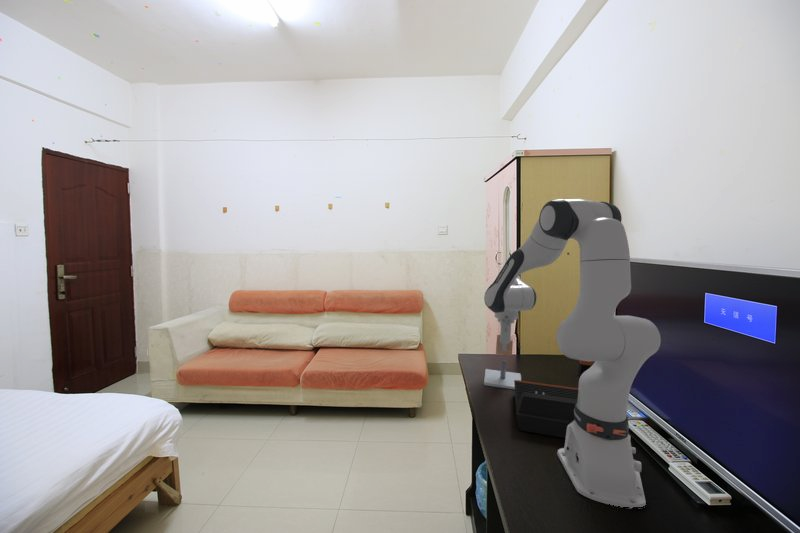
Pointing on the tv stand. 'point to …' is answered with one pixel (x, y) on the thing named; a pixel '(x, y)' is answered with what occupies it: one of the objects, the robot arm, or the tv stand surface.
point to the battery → (584, 366)
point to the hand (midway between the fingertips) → (504, 347)
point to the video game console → (544, 407)
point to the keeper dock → (501, 382)
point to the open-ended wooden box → (499, 347)
